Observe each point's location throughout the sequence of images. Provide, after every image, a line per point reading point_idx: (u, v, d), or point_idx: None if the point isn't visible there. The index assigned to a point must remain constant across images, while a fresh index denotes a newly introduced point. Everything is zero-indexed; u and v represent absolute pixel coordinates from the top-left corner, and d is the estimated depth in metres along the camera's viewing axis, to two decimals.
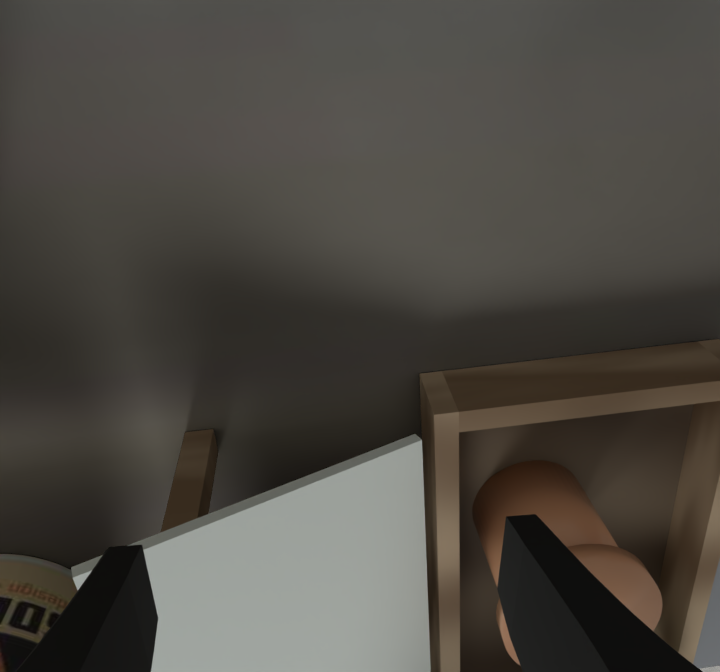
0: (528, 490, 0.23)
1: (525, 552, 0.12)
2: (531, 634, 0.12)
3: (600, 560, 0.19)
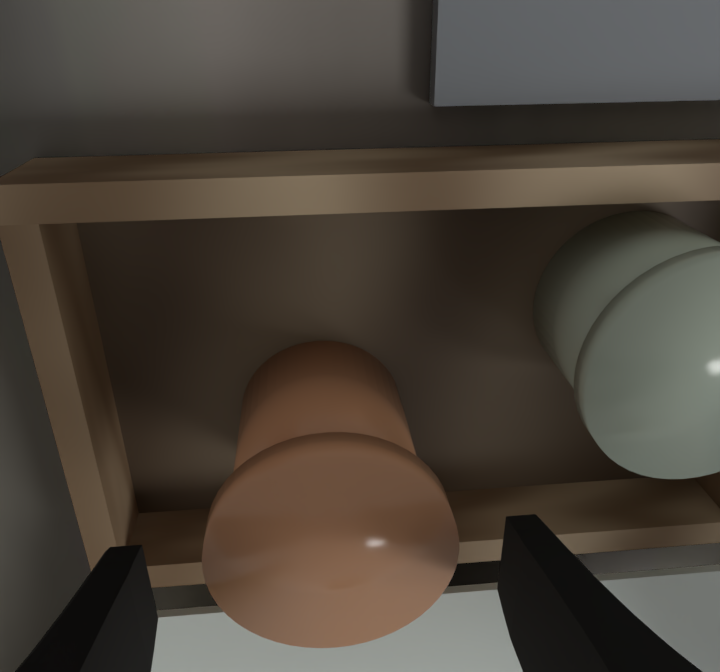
0: None
1: (525, 552, 0.12)
2: (531, 634, 0.12)
3: (202, 554, 0.13)
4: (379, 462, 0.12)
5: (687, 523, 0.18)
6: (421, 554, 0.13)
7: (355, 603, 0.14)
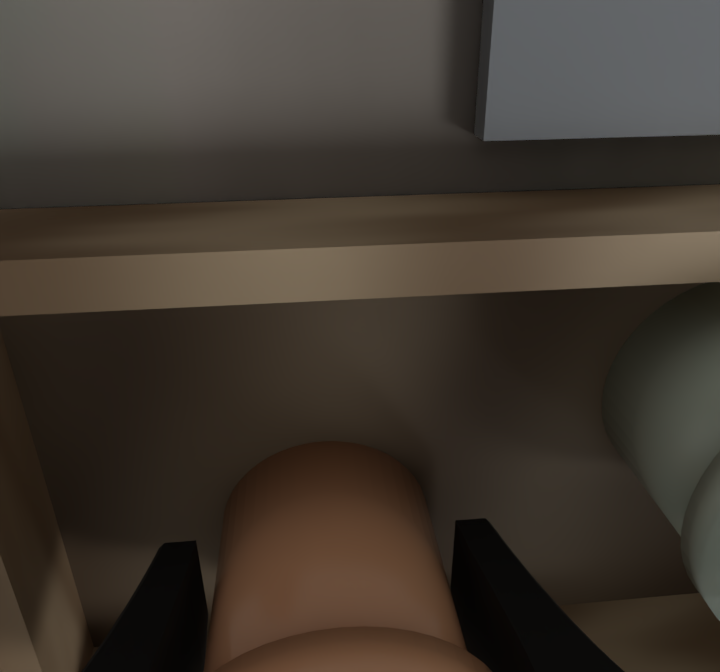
0: None
1: (470, 556, 0.12)
2: (476, 639, 0.12)
3: None
4: None
5: None
6: None
7: None
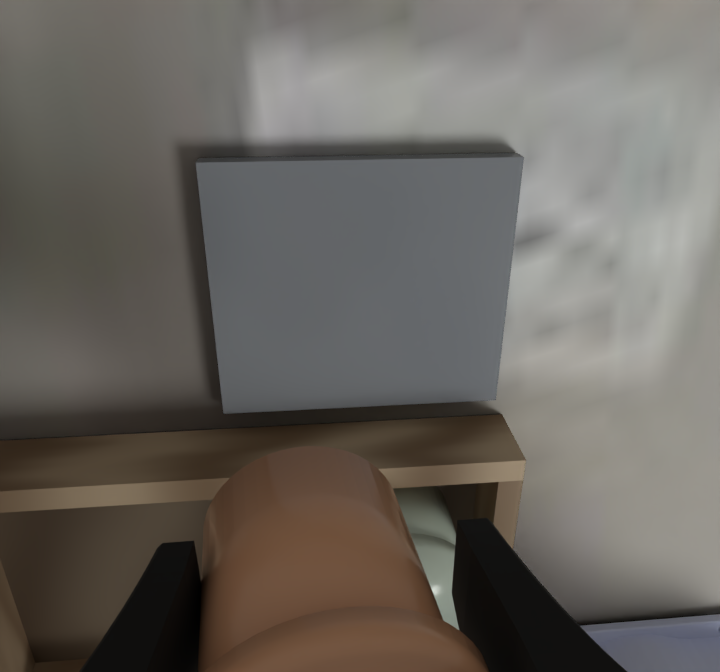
0: None
1: (472, 556, 0.12)
2: (478, 639, 0.12)
3: None
4: (424, 656, 0.09)
5: None
6: None
7: None
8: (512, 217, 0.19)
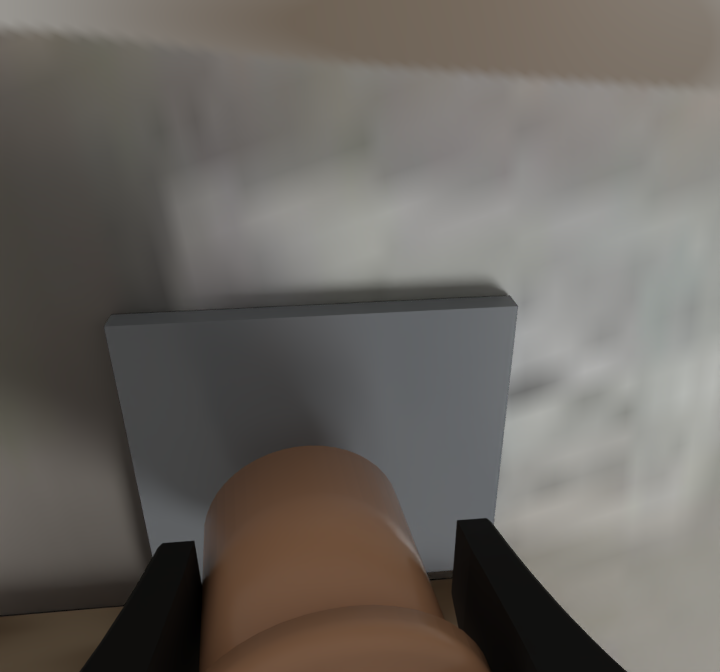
0: None
1: (472, 556, 0.12)
2: (478, 639, 0.12)
3: None
4: (427, 655, 0.09)
5: None
6: None
7: None
8: (505, 373, 0.15)
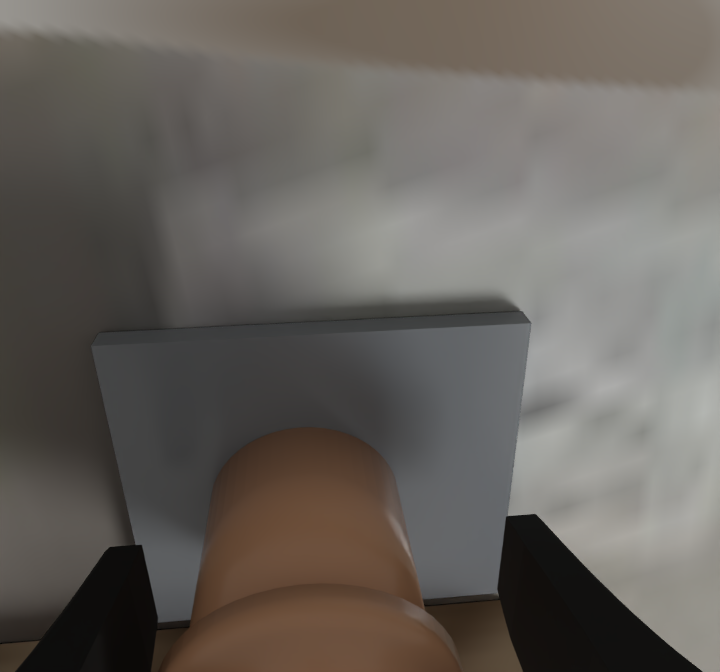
0: None
1: (525, 552, 0.12)
2: (531, 634, 0.12)
3: None
4: (387, 635, 0.09)
5: None
6: None
7: None
8: (517, 393, 0.14)
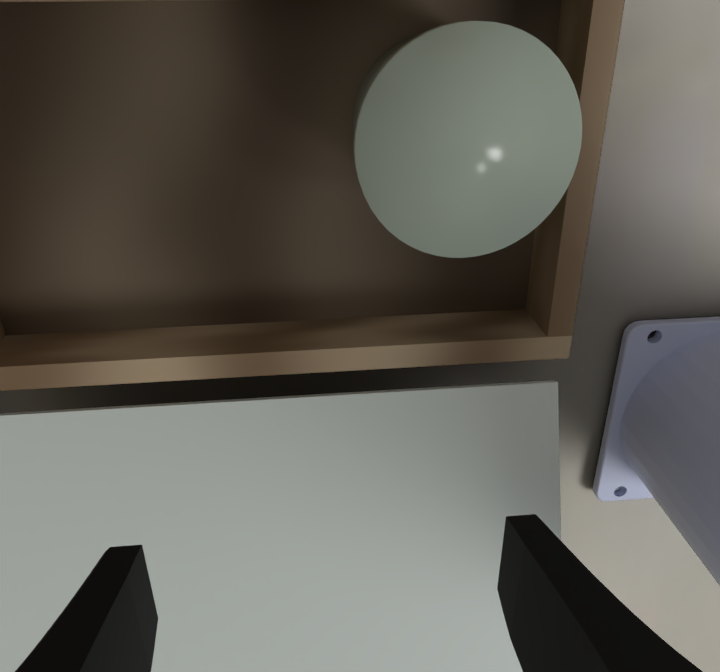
0: None
1: (525, 552, 0.12)
2: (531, 634, 0.12)
3: None
4: None
5: (506, 338, 0.20)
6: None
7: None
8: None
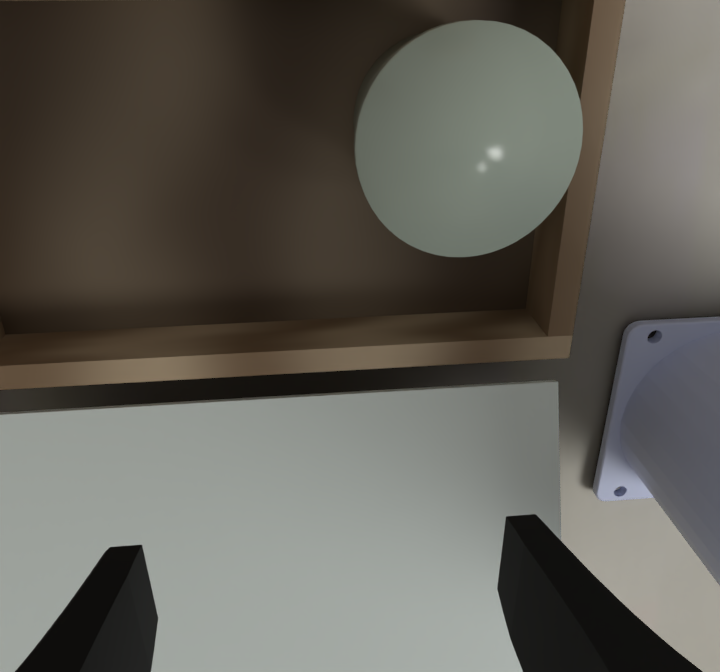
0: None
1: (525, 552, 0.12)
2: (531, 634, 0.12)
3: None
4: None
5: (507, 338, 0.20)
6: None
7: None
8: None
